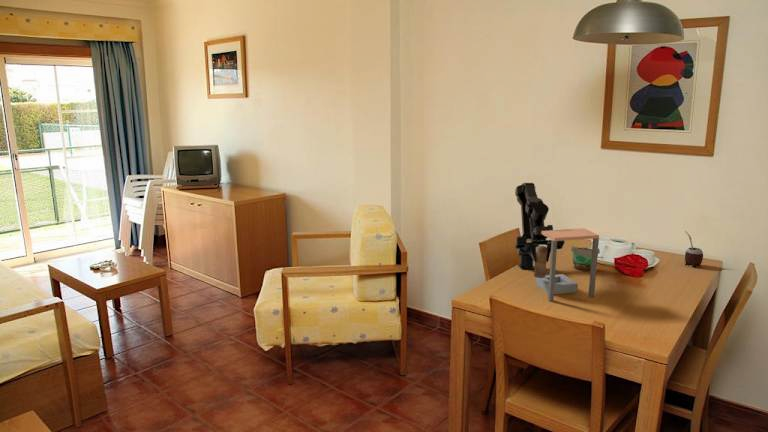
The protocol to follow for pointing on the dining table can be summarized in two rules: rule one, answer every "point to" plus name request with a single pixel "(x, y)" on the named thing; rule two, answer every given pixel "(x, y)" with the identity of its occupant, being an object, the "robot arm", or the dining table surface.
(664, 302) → the dining table surface
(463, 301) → the dining table surface
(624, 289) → the dining table surface
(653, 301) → the dining table surface
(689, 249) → the mate gourd
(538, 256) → the peg
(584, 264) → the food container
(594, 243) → the small table
